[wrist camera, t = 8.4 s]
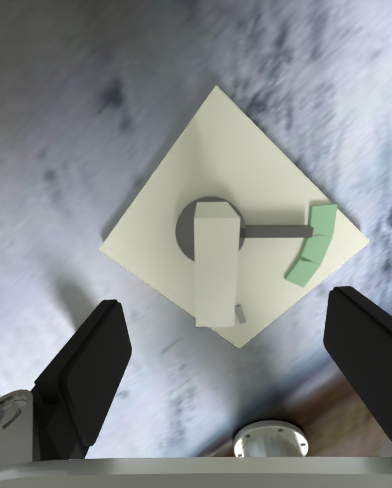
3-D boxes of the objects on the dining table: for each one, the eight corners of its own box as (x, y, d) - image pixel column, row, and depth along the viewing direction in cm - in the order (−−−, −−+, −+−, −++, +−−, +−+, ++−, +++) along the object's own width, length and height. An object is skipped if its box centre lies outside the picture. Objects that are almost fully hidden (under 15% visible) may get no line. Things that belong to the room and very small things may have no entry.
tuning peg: (178, 259, 23) (160, 326, 13) (175, 196, 20) (150, 218, 11) (300, 259, 22) (377, 328, 13) (311, 194, 20) (416, 216, 10)
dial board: (360, 236, 23) (375, 242, 21) (237, 340, 29) (240, 352, 27) (215, 90, 19) (217, 81, 17) (104, 245, 24) (96, 251, 23)
